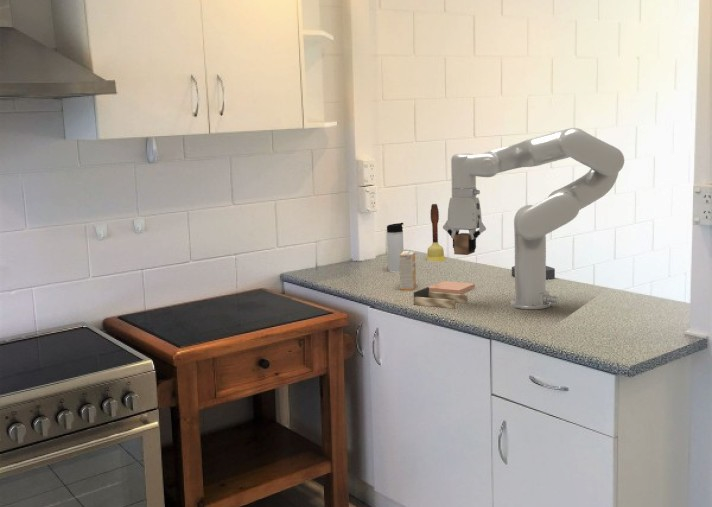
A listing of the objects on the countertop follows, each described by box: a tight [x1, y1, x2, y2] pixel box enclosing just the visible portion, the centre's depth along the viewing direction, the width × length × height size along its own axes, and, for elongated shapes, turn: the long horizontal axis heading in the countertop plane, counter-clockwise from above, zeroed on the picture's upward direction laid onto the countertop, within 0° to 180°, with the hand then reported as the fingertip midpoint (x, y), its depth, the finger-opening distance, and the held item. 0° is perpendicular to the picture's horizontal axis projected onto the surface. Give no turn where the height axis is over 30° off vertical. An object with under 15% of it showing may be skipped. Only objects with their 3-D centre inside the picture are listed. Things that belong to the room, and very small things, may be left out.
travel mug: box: [386, 222, 405, 273], centre depth 312 cm, size 6×7×20 cm
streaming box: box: [511, 265, 556, 281], centre depth 291 cm, size 13×13×4 cm
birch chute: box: [413, 286, 468, 309], centre depth 258 cm, size 15×9×4 cm, turn 56°
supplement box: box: [399, 250, 417, 291], centre depth 283 cm, size 8×5×13 cm, turn 168°
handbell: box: [425, 203, 447, 262], centre depth 330 cm, size 12×12×25 cm
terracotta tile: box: [428, 280, 476, 295], centre depth 277 cm, size 12×12×2 cm
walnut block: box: [453, 232, 476, 256], centre depth 253 cm, size 4×6×6 cm
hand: (464, 250), depth 254 cm, fingers closed on walnut block, 4 cm apart
